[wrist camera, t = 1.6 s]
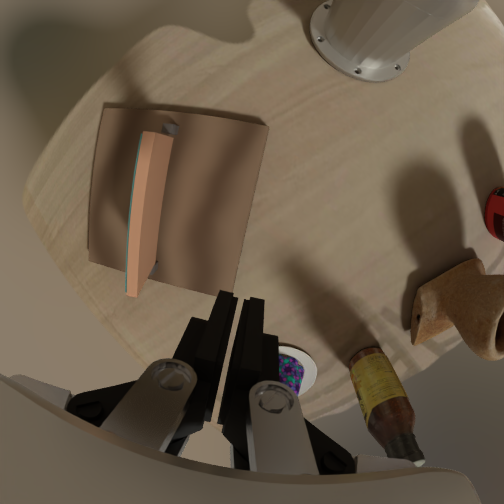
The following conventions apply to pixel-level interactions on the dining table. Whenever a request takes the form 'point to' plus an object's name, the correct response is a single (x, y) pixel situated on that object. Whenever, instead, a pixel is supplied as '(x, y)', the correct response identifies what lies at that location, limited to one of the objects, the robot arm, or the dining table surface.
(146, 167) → the tile
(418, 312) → the clay platform pipe
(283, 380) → the patterned brimmed hat
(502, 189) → the canned food
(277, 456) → the robot arm
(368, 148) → the dining table surface
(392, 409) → the sauce bottle
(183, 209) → the board
